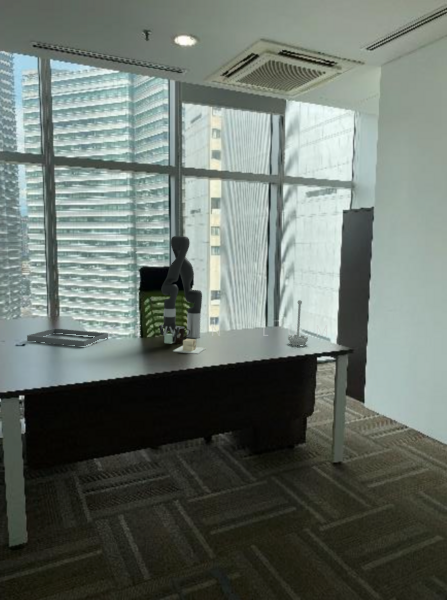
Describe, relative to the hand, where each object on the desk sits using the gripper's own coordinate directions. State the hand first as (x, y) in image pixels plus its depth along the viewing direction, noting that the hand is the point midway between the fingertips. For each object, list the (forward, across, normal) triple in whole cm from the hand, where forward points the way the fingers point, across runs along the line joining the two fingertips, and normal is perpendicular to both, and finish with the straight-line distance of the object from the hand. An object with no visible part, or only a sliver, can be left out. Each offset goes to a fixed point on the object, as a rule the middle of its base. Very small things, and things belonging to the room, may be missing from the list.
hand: (169, 341), depth 284 cm
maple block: (+2, -16, +6) cm, 17 cm away
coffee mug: (+3, -2, -12) cm, 13 cm away
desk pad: (+3, -16, +6) cm, 17 cm away
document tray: (+2, +66, +13) cm, 67 cm away
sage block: (0, 0, 0) cm, 0 cm away
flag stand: (+4, -76, -41) cm, 86 cm away
